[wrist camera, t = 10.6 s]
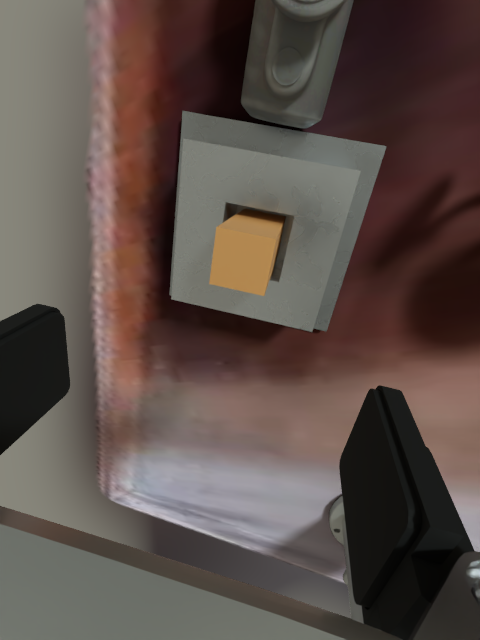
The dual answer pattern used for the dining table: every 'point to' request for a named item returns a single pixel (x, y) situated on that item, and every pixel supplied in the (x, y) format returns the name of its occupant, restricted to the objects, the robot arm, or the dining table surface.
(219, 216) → the square hole block
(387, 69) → the dining table surface
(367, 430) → the robot arm
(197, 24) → the dining table surface
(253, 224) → the orange rectangular block
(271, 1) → the pipe fitting
